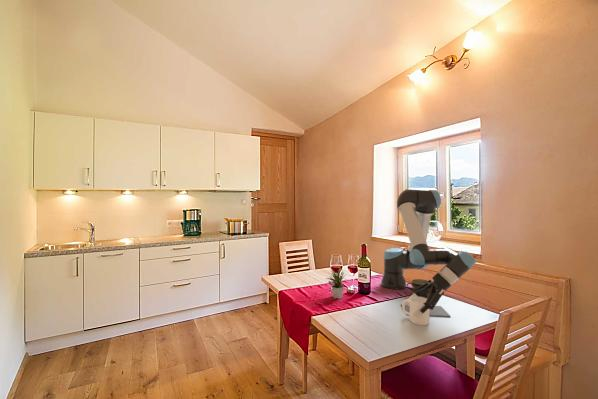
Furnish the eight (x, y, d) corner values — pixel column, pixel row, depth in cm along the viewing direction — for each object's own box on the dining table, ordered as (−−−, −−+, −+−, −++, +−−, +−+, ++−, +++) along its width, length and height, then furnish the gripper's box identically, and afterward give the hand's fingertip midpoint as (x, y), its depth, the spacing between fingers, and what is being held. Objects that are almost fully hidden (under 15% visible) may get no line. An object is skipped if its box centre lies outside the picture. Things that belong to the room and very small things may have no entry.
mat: (440, 307, 146) (440, 305, 146) (450, 317, 134) (450, 315, 134) (400, 305, 149) (400, 304, 148) (406, 315, 137) (406, 313, 137)
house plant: (327, 291, 171) (327, 264, 171) (350, 293, 167) (350, 265, 167) (322, 299, 157) (322, 270, 157) (347, 301, 154) (347, 272, 153)
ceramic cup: (426, 296, 161) (426, 279, 161) (434, 303, 151) (434, 284, 151) (403, 296, 162) (403, 279, 162) (410, 303, 152) (410, 284, 152)
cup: (425, 327, 124) (426, 304, 124) (398, 319, 132) (399, 298, 132) (431, 321, 130) (431, 299, 130) (405, 313, 138) (405, 293, 138)
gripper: (463, 294, 117) (425, 328, 119) (440, 276, 141) (409, 305, 143) (450, 281, 117) (412, 315, 119) (429, 265, 142) (398, 294, 144)
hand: (410, 309), depth 131 cm, fingers open, 13 cm apart
